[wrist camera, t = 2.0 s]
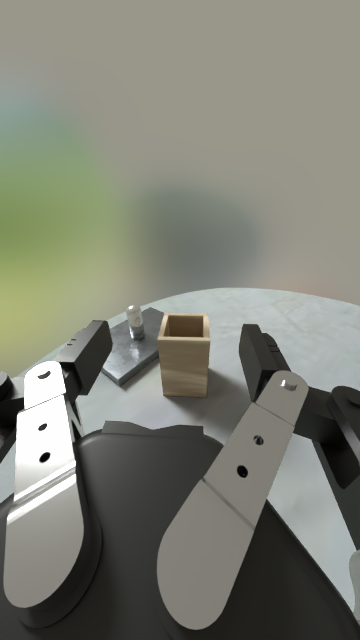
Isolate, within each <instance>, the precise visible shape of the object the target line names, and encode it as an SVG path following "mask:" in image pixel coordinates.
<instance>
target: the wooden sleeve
mask: <svg viewBox="0 0 360 640" xmlns="http://www.w3.org/2000/svg"><path fill="white" fill-rule="evenodd" d="M157 342H158V351H159V360H160V369H161V378H162V387H163V396H183V397H206V393H207V379H208V364H209V350H210V334H209V323H208V314H196V313H164V316H163V320H162V324H161V328H160V331H159V335H158V339H157Z"/></svg>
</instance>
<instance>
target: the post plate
mask: <svg viewBox="0 0 360 640" xmlns="http://www.w3.org/2000/svg"><path fill="white" fill-rule="evenodd" d="M126 313H127V318H128V320H126V321H124V322H122V323H120V324H118V325H116V326H115V327H113V328H111V329H110V333H111V337H112V342H113V347H112V351H111V353H110V355H109V356H108V358H107V360H106V362H105V364H104V366H103V367H102V369H101V371H102V372H103V373H104V374H105V375H107V376H108V377H109V378H110V379H111V380H113V381H114V382H115V383H116V384H118V385H119V386H121V385H122V384H123V383H125V382H126V381H127V380H129V379H130V378H131V377H132V376H134V375H135V374H136V373H137V372H139V371H140V370H141V369H143V368H144V367H145V366H146V365H148V364H149V363H150V362H151V361H153V360H154V359H155V358H157V357H158V356H159V351H158V342H157V339H158V335H159V331H160V328H161V324H162V320H163V316H164V313H163V312H160V311H158V310H156V309H153V308H151V307H150V308H148V309H146V310H144V311H142V312H141V309H140V307H139V306H137V305H131V306H129V307H128V308H127V311H126Z"/></svg>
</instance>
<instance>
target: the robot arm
mask: <svg viewBox="0 0 360 640" xmlns="http://www.w3.org/2000/svg"><path fill="white" fill-rule="evenodd" d="M112 347H113V342H112V337H111V333H110V329H109V325H108V322H107V321H99V320H98V321H97V320H93V321H92V322H91V323H90V324H89V325H88V327H87V328H84V329H82V330H81V331H79V332H78V333H76V334H75V335H74V337H73V338H72V339H71V340H70V341H69V342H68V343H67V345H66V346H65V347H64V348H63V349H62V350H61V352H60V353H59V354H58V355H57V356H56V357H55V358H54V360H53V361H52V362H47V363H43V364H40V365H38V366H36V367H35V368H33V369H32V370H31V371H29V373H28V374H27V375H26V376H21V377H16V378H11V379H10V378H9V376H8V375H7V374H6V373H5V372H3V371H0V463H1V462H2V460H3V459H4V457H5V456H6V454H7V453H8V451H9V450H10V448H11V447H12V445H13V444H14V443H15V441H16V440H17V443H16V467H15V490H14V493H13V494H11V495H10V496H9V497H8V498H7V499H5V500H4V501H3V502H2V503H0V640H360V391H358V390H356V389H353V388H350V387H346V386H337V387H335V388H334V389H333V390H332V392H331V393H330V392H326V391H323V390H319V389H315V388H312V387H309V386H308V385H307V383H306V382H305V380H304V379H303V378H302V377H300V376H299V375H297V374H295V373H293V372H291V370H290V368H289V366H288V364H287V362H286V361H285V359H284V357H283V355H282V353H281V352H280V349H279V348H278V347H277V344H276V342H275V340H274V339H273V338H272V337H271V336H270V335H268V334H267V333H262V332H261V330H260V328H259V326H258V325H257V324H243V327H242V332H241V338H240V343H239V356H240V360H241V363H242V367H243V371H244V375H245V378H246V382H247V386H248V390H249V393H250V397H251V401H252V404H251V405H250V406H249V408H248V409H247V411H246V413H245V414H244V416H243V417H242V419H241V420H240V422H239V423H238V425H237V426H236V428H235V430H234V431H233V433H232V434H231V436H230V437H229V439H228V440H227V442H226V444H225V445H223V444H221V443H220V442H219V441H217V440H215V439H214V438H212V437H210V436H207V435H204V434H203V426H191V425H175V426H170V427H165V428H160V429H155V430H151V429H148V428H145V427H142V426H139V425H137V424H134V423H131V422H121V421H105V424H104V426H103V429H100V430H96V431H94V432H91V433H89V434H87V435H85V433H84V429H83V425H82V421H81V417H80V413H79V409H78V405H77V402H76V398H77V396H78V395H88V393H89V391H90V389H91V388H92V386H93V384H94V382H95V380H96V378H97V377H98V375H99V373H100V371H101V369H102V367H103V366H104V364H105V362H106V360H107V358H108V356H109V355H110V353H111V351H112ZM292 433H295V434H298V435H300V436H303V437H306V438H309V439H311V440H312V442H313V445H314V447H315V450H316V452H317V455H318V457H319V460H320V462H321V464H322V467H323V469H324V472H325V474H326V477H327V479H328V481H329V484H330V486H331V489H332V491H333V494H334V496H335V499H336V501H337V503H338V506H339V508H340V511H341V513H342V516H343V518H344V520H345V523H346V525H347V528H348V530H349V533H350V535H351V538H352V540H353V542H354V545H355V547H356V550H357V551H356V552H354V553H353V554H352V556H351V558H350V562H349V571H350V577H351V580H352V584H353V588H354V593H355V608H354V612H353V613H352V611H351V609H350V608H349V606H348V605H347V603H346V601H345V600H344V598H343V597H342V596H341V594H340V593H339V591H338V590H337V589H336V587H335V586H334V585H333V583H332V582H331V581H330V580H329V578H328V577H327V576H326V574H325V573H324V572H323V571H322V569H321V568H320V567H319V565H318V564H317V563H316V562H315V560H314V559H313V558H312V556H311V555H310V554H309V553H308V551H307V550H306V549H305V547H304V546H303V545H302V544H301V542H300V541H299V540H298V538H297V537H296V536H295V535H294V533H293V532H292V531H291V529H290V528H289V527H288V525H287V524H286V523H285V522H284V520H283V519H282V518H281V516H280V515H279V514H278V513H277V511H276V510H275V509H274V507H273V506H272V505H271V504H270V502H269V501H268V500H267V496H268V494H269V491H270V489H271V486H272V484H273V481H274V479H275V476H276V474H277V471H278V468H279V466H280V463H281V461H282V458H283V456H284V453H285V451H286V448H287V446H288V443H289V441H290V438H291V436H292Z"/></svg>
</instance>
